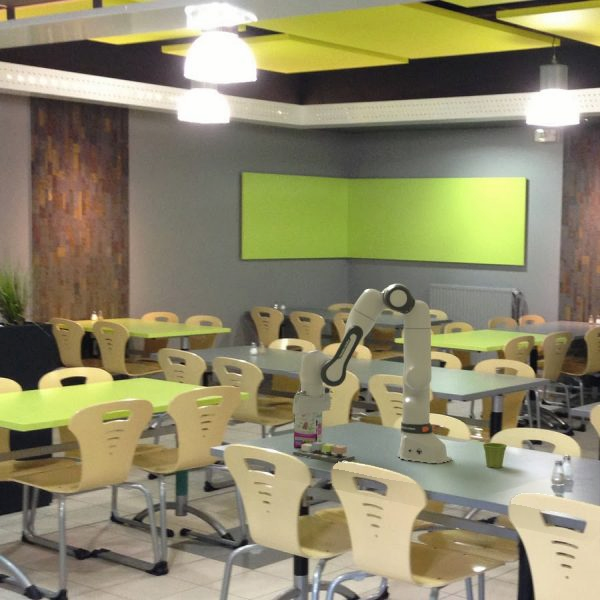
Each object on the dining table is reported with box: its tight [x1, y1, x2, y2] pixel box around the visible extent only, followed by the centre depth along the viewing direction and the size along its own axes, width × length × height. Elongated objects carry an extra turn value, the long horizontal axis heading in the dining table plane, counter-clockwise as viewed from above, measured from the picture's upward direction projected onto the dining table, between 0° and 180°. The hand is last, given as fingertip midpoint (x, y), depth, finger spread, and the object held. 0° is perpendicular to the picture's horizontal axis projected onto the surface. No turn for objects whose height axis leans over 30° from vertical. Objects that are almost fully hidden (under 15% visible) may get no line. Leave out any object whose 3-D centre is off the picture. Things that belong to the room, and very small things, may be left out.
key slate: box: [312, 441, 327, 452], centre depth 454 cm, size 4×4×4 cm
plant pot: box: [482, 442, 508, 469], centre depth 439 cm, size 9×9×9 cm
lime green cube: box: [322, 443, 337, 454], centre depth 450 cm, size 4×4×4 cm
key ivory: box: [300, 443, 315, 453], centre depth 458 cm, size 4×4×4 cm
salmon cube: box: [333, 444, 348, 456], centre depth 447 cm, size 4×4×4 cm
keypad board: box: [292, 449, 356, 464], centre depth 452 cm, size 23×11×2 cm, turn 49°
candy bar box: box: [293, 411, 323, 449], centre depth 471 cm, size 11×5×16 cm, turn 62°
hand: (311, 423), depth 456 cm, fingers closed
